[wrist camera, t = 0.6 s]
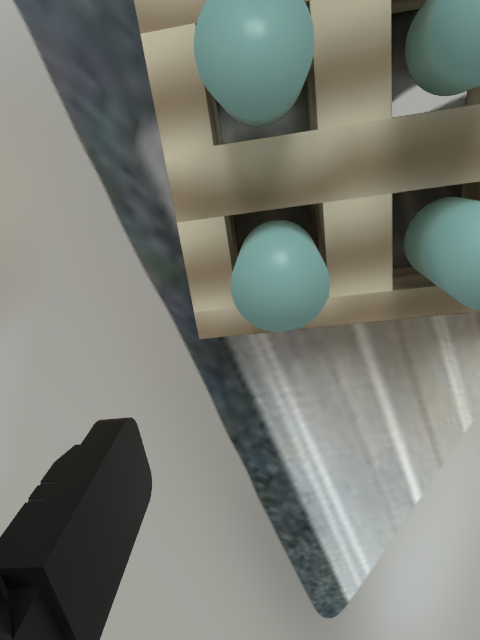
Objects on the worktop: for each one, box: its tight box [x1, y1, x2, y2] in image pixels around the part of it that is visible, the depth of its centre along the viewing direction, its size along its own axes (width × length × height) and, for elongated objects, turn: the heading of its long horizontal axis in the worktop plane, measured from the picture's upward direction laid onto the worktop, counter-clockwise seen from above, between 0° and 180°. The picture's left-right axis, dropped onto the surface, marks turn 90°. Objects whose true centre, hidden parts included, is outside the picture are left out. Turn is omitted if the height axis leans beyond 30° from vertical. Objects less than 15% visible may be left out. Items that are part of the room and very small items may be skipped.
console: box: [134, 0, 480, 339], centre depth 25 cm, size 20×24×5 cm
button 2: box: [194, 0, 315, 126], centre depth 19 cm, size 5×5×6 cm
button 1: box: [231, 220, 330, 332], centre depth 22 cm, size 5×5×6 cm
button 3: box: [404, 197, 480, 311], centre depth 21 cm, size 5×5×6 cm
